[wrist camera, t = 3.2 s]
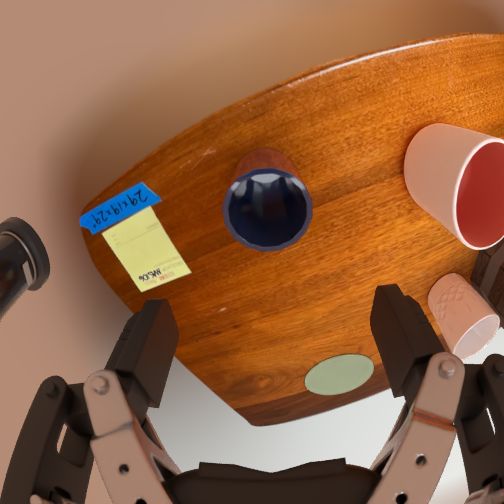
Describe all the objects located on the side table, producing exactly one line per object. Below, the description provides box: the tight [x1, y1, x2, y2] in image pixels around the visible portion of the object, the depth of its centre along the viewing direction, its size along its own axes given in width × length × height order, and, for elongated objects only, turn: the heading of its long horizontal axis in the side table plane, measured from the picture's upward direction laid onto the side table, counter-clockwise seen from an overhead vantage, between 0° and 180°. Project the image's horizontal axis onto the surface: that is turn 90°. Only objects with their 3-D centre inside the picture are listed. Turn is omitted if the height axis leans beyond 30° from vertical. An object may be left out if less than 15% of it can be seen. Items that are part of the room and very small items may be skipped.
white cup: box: [428, 273, 500, 360], centre depth 28 cm, size 8×8×10 cm
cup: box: [404, 123, 504, 250], centre depth 20 cm, size 10×10×10 cm
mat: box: [305, 354, 374, 395], centre depth 42 cm, size 12×12×1 cm
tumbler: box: [222, 148, 312, 252], centre depth 22 cm, size 6×6×9 cm
